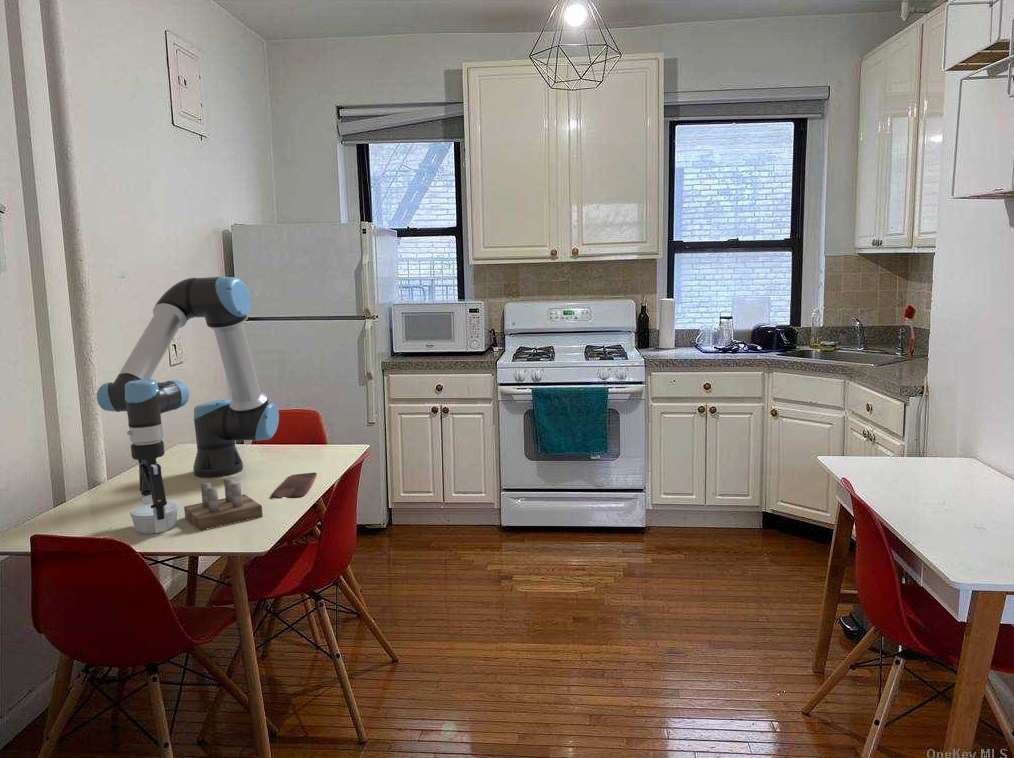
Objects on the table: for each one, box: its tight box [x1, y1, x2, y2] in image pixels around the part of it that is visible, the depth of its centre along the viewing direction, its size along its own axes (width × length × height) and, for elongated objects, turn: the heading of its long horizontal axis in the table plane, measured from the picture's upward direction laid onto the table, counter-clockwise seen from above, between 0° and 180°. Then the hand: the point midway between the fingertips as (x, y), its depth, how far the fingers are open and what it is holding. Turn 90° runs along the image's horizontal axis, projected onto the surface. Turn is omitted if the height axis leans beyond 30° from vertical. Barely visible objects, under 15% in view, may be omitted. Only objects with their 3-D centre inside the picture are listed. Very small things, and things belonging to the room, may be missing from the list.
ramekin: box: [129, 501, 179, 535], centre depth 196 cm, size 11×11×5 cm
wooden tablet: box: [270, 471, 317, 499], centre depth 232 cm, size 26×2×10 cm
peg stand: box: [183, 477, 263, 531], centre depth 203 cm, size 14×16×9 cm
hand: (155, 525), depth 196 cm, fingers closed on ramekin, 11 cm apart
